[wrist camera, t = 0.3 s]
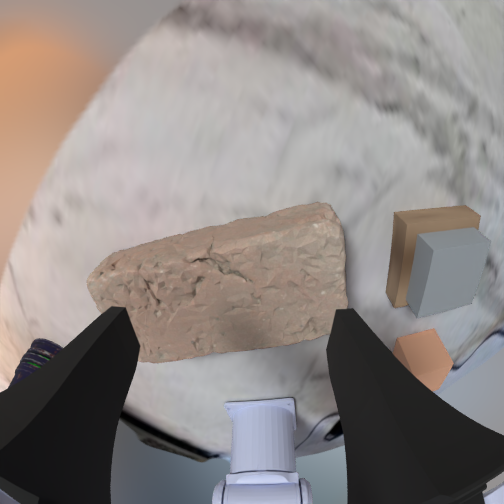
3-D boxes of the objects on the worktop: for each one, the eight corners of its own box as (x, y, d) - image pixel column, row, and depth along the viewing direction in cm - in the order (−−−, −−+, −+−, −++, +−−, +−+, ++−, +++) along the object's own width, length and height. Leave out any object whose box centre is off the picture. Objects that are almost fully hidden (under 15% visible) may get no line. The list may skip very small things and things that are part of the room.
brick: (329, 194, 17) (350, 224, 13) (340, 294, 21) (355, 337, 17) (107, 247, 20) (78, 283, 15) (151, 326, 24) (136, 367, 19)
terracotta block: (423, 355, 26) (438, 389, 21) (388, 364, 26) (402, 401, 22) (433, 327, 23) (453, 363, 19) (396, 337, 24) (414, 376, 19)
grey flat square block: (458, 287, 18) (471, 303, 16) (405, 299, 19) (416, 318, 17) (473, 227, 16) (491, 241, 14) (417, 233, 16) (433, 250, 14)
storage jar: (55, 381, 31) (23, 459, 18) (20, 334, 26) (-28, 419, 13) (105, 391, 30) (74, 485, 17) (68, 341, 25) (16, 450, 12)
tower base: (448, 275, 21) (461, 291, 18) (383, 288, 21) (394, 308, 19) (462, 203, 17) (480, 215, 15) (391, 209, 18) (406, 224, 16)
